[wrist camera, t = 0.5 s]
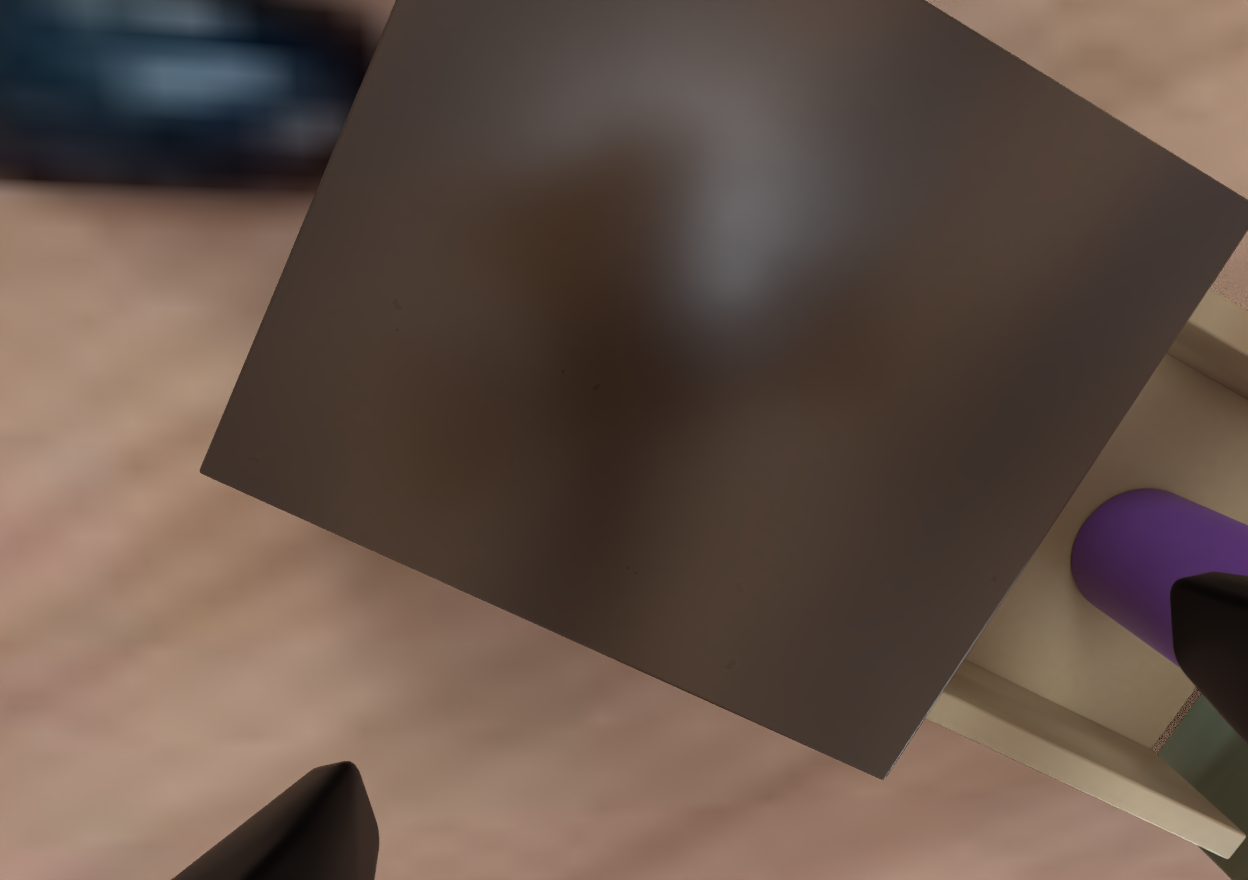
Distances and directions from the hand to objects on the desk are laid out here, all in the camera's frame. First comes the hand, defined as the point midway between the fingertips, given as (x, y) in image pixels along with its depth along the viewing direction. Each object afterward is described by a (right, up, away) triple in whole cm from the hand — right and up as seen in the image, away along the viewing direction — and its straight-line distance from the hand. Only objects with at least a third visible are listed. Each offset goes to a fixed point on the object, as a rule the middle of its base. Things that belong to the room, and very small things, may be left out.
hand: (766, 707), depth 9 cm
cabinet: (0, +6, +13) cm, 14 cm away
